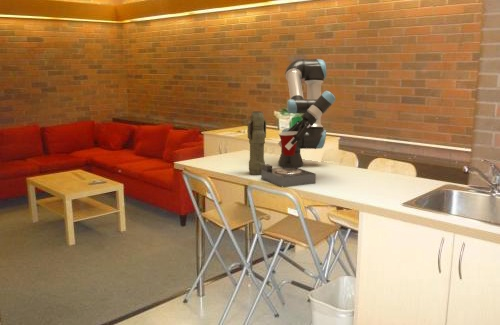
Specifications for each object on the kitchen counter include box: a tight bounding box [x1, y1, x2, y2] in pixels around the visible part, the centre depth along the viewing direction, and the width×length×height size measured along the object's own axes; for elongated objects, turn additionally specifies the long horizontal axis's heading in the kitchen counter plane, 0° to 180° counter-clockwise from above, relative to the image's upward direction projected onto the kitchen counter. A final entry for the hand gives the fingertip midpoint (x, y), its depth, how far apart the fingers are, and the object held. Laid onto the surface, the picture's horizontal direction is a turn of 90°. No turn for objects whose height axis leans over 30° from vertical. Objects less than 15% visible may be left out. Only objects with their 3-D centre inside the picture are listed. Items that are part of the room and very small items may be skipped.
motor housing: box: [260, 163, 317, 188], centre depth 257 cm, size 22×20×8 cm
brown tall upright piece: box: [247, 110, 267, 176], centre depth 273 cm, size 9×12×35 cm
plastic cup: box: [278, 131, 297, 156], centre depth 254 cm, size 11×11×12 cm
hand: (283, 146), depth 253 cm, fingers closed on plastic cup, 10 cm apart
